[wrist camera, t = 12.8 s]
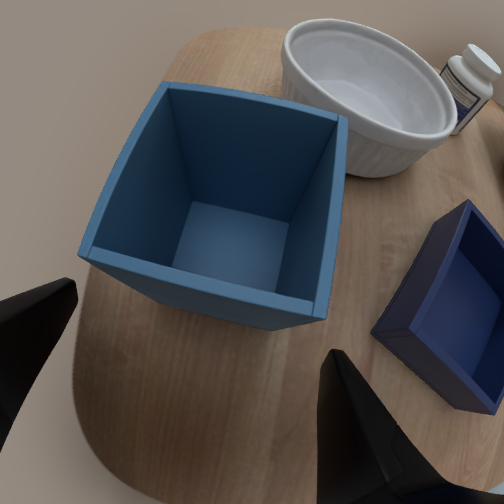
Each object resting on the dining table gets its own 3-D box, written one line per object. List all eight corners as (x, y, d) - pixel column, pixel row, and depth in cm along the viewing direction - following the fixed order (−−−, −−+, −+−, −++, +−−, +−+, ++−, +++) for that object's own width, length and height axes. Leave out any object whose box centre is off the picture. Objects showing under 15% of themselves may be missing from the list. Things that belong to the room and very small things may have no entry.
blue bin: (272, 331, 17) (326, 320, 7) (157, 301, 17) (76, 255, 7) (294, 222, 19) (348, 117, 9) (189, 197, 19) (161, 80, 9)
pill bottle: (442, 100, 25) (482, 46, 16) (466, 137, 24) (514, 84, 14) (411, 96, 24) (452, 32, 15) (436, 135, 23) (488, 72, 14)
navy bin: (454, 408, 16) (494, 415, 11) (369, 332, 17) (408, 328, 13) (502, 301, 18) (538, 291, 14) (433, 222, 20) (468, 198, 16)
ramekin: (387, 85, 24) (413, 37, 18) (435, 195, 21) (486, 152, 14) (261, 71, 23) (269, 9, 16) (284, 195, 19) (308, 127, 13)
